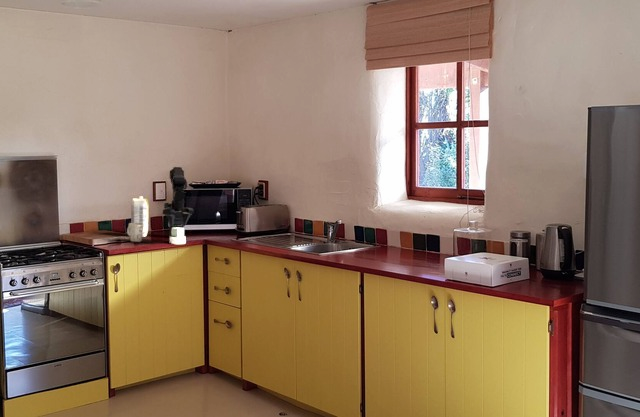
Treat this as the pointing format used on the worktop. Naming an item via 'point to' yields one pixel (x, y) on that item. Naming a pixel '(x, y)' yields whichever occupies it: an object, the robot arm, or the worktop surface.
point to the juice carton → (140, 213)
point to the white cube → (177, 232)
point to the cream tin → (177, 240)
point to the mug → (135, 231)
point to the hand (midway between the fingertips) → (178, 226)
